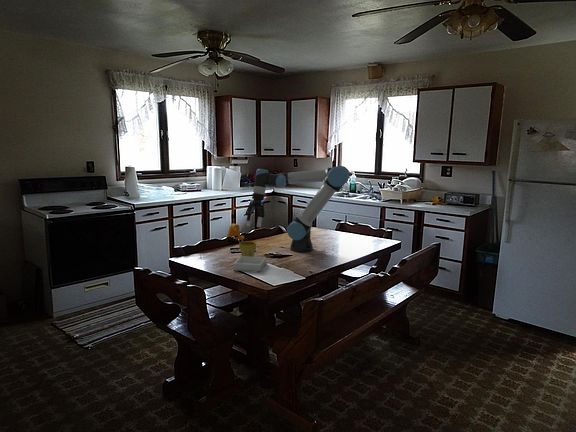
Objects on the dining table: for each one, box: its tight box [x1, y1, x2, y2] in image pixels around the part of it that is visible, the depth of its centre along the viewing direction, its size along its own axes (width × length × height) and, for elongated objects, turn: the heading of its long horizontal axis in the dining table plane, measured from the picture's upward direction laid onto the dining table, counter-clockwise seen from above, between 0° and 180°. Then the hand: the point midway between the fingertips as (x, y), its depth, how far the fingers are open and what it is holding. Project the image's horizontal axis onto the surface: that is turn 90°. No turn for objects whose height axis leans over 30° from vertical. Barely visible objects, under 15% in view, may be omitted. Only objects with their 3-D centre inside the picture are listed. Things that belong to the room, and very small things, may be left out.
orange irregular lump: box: [226, 223, 245, 242], centre depth 292 cm, size 11×7×12 cm, turn 130°
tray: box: [232, 255, 267, 273], centre depth 230 cm, size 16×16×4 cm
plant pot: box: [238, 240, 257, 257], centre depth 247 cm, size 10×10×10 cm
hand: (253, 226), depth 255 cm, fingers open, 13 cm apart
